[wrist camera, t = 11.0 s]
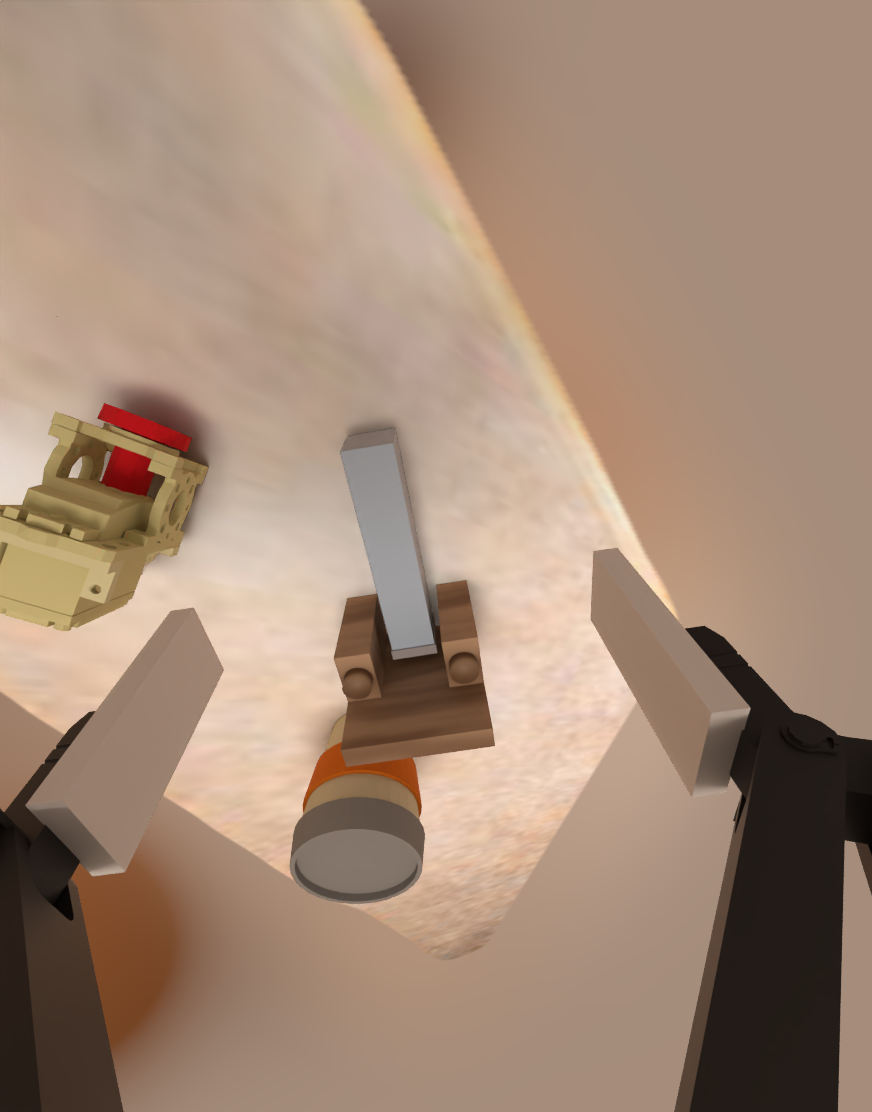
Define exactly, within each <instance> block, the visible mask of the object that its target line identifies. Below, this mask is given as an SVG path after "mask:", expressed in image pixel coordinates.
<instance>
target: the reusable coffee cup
mask: <svg viewBox="0 0 872 1112" xmlns="http://www.w3.org/2000/svg"><path fill="white" fill-rule="evenodd" d="M345 719H346V714H345V715H344V716H343V717H341V718H340V719H339V720H338V721H337V722H336V724H335V726H334V728H333V731H332V734H331V736H330V739H329V742H328V745H327V748H326V751H325V752H324V753H323V754H322V755H321V757H320V758H319V760H318V762H317V765H316V767H315V770H314V773H313V776H312V778H311V781H310V784H309V787H308V789H307V792H306V795H305V798H304V802H303V816H302V818H301V819H300V820H299V821H298V823H297V825H296V826H295V830H294V834H293V842H292V851H291V859H290V871H291V875H292V877H293V879H294V880H295V881H296V883H297V884H298V885H299V886H300V887H302V888H303V889H304V890H306V891H307V892H309V893H311V894H313V895H315V896H317V897H319V898H323V899H326V900H329V901H334V902H339V903H349V904H364V903H372V902H378V901H382V900H387V899H389V898H392V897H395V896H397V895H399V894H401V893H403V892H405V891H407V890H408V889H409V888H410V887H412V886H413V885H414V884H415V883H416V881H417V880H418V879H419V877H420V875H421V872H422V864H423V852H424V839H425V833H424V829H423V826H422V824H421V823H420V819H419V817H420V814H421V808H422V805H421V798H420V791H419V785H418V778H417V771H416V766H415V763H414V761H413V759H412V758H406V759H399V760H392V761H385V762H378V763H371V764H364V765H357V766H350V767H346V764H345V761H344V759H343V756H342V753H341V744H342V738H343V731H344V725H345Z"/></svg>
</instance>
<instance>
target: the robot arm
mask: <svg viewBox="0 0 872 1112" xmlns="http://www.w3.org/2000/svg"><path fill="white" fill-rule="evenodd" d="M591 621H592V622H593V624H594V626H595V628H596V629H597V631H598V633H599V635H600V636H601V638H602V640H603V642H604V644H605V645H606V647H607V649H608V651H609V652H610V654H611V656H612V658H613V659H614V661H615V663H616V665H617V666H618V668H619V670H620V672H621V673H622V675H623V677H624V679H625V681H626V682H627V684H628V686H629V688H630V689H631V691H632V693H633V695H634V696H635V698H636V700H637V702H638V703H639V705H640V707H641V709H642V710H643V712H644V714H645V716H646V717H647V719H648V721H649V723H650V725H651V726H652V728H653V730H654V732H655V733H656V735H657V737H658V739H659V740H660V742H661V744H662V746H663V747H664V749H665V751H666V753H667V754H668V756H669V758H670V760H671V762H672V763H673V765H674V767H675V769H676V770H677V772H678V774H679V776H680V777H681V779H682V781H683V783H684V784H685V786H686V788H687V790H688V791H689V793H690V795H691V797H699V796H706V795H714V794H722V793H726V790H727V787H728V783H729V780H730V777H732V779H733V781H734V782H735V783H736V785H737V786H738V788H739V789H740V791H741V792H742V795H741V798H740V801H739V804H738V807H737V810H736V813H735V817H734V821H735V825H734V830H733V835H732V839H731V844H730V849H729V853H728V858H727V863H726V868H725V872H724V877H723V882H722V887H721V892H720V896H719V901H718V906H717V911H716V915H715V920H714V925H713V930H712V934H711V940H710V944H709V949H708V954H707V958H706V963H705V968H704V973H703V977H702V982H701V987H700V992H699V996H698V1002H697V1006H696V1011H695V1016H694V1020H693V1026H692V1031H691V1035H690V1039H689V1044H688V1049H687V1054H686V1058H685V1063H684V1068H683V1073H682V1078H681V1082H680V1087H679V1092H678V1097H677V1101H676V1106H675V1111H674V1112H838V1083H839V1080H838V1079H839V1042H840V1003H841V1001H840V1000H841V961H842V922H843V883H844V879H843V878H844V842H845V840H847V841H852V842H855V843H856V846H857V849H858V852H859V856H860V859H861V862H862V865H863V869H864V872H865V874H866V878H867V881H868V884H869V888H870V891H871V894H872V740H866V739H858V738H850V737H845V736H840V735H837V734H836V733H835V731H833V730H832V729H831V728H829V727H828V726H826V725H825V724H823V723H822V722H820V721H818V720H816V719H814V718H811V717H809V716H807V715H802V714H798V713H794V712H793V711H792V710H790V708H789V707H788V706H787V705H786V704H785V703H784V702H783V701H782V700H781V699H780V697H779V696H778V695H777V694H776V693H775V692H774V691H773V690H772V689H771V688H770V687H769V686H768V684H767V683H766V682H765V681H764V680H763V679H762V678H761V677H760V676H759V675H758V674H757V673H756V672H755V670H754V669H753V668H752V667H749V666H748V663H747V662H746V661H745V660H744V659H743V658H742V656H741V655H738V654H737V651H736V650H735V649H734V648H733V647H732V646H731V645H730V644H729V643H728V641H727V640H726V639H725V638H724V637H722V636H720V635H719V634H717V633H716V632H714V631H712V630H711V629H709V628H707V627H705V626H700V627H694V628H686V629H684V627H683V626H682V625H681V624H680V623H679V621H678V620H677V619H676V618H675V617H674V615H673V614H672V613H671V612H670V611H669V609H668V608H667V607H666V606H665V605H664V603H663V602H662V601H661V600H660V599H659V597H658V596H657V595H656V594H655V593H654V591H653V590H652V589H651V588H650V587H649V585H648V584H647V583H646V582H645V581H644V579H643V578H642V577H641V576H640V575H639V573H638V572H637V571H636V570H635V569H634V567H633V566H632V565H631V564H630V563H629V561H628V560H627V559H626V558H625V557H624V555H623V554H622V553H621V552H620V551H619V549H618V548H613V549H606V550H599V551H594V552H593V576H592V599H591ZM223 671H224V669H223V667H222V665H221V663H220V661H219V659H218V657H217V655H216V653H215V650H214V648H213V646H212V644H211V642H210V640H209V638H208V636H207V634H206V632H205V630H204V628H203V626H202V624H201V621H200V619H199V617H198V615H197V613H196V611H195V609H194V608H189V609H181V610H174V611H171V612H170V613H169V614H168V616H167V617H166V618H165V620H164V621H163V622H162V624H161V625H160V626H159V628H158V629H157V630H156V632H155V633H154V634H153V636H152V637H151V638H150V640H149V641H148V642H147V644H146V645H145V646H144V648H143V649H142V650H141V652H140V653H139V654H138V656H137V657H136V658H135V660H134V661H133V662H132V664H131V665H130V666H129V668H128V669H127V670H126V672H125V673H124V674H123V676H122V677H121V678H120V680H119V681H118V682H117V684H116V685H115V686H114V688H113V689H112V690H111V692H110V693H109V694H108V696H107V697H106V698H105V700H104V701H103V702H102V704H101V705H100V706H99V708H98V709H97V710H96V711H93V712H89V713H87V714H86V715H85V716H84V717H83V718H81V719H80V720H79V721H78V722H77V723H76V724H74V725H73V726H72V727H71V728H70V729H69V730H68V731H67V733H66V734H65V735H64V736H63V738H62V739H61V740H60V742H59V743H58V744H57V746H56V749H54V750H53V751H52V752H51V753H50V754H49V756H48V757H47V758H46V760H45V764H42V765H41V766H40V767H39V769H38V770H37V771H36V773H35V774H34V775H33V776H32V778H31V779H30V780H29V781H28V783H27V784H26V785H25V787H24V788H23V789H22V790H21V792H20V793H19V794H18V796H17V797H16V798H15V799H14V801H13V802H12V803H11V805H10V806H9V807H8V808H7V810H6V811H5V812H3V811H2V810H1V809H0V1112H123V1108H122V1103H121V1098H120V1093H119V1088H118V1083H117V1078H116V1073H115V1069H114V1064H113V1059H112V1054H111V1049H110V1044H109V1039H108V1034H107V1030H106V1025H105V1020H104V1015H103V1010H102V1005H101V1000H100V996H99V991H98V986H97V981H96V976H95V971H94V966H93V962H92V957H91V952H90V947H89V942H88V937H87V932H86V927H85V923H84V918H83V913H82V908H81V903H80V898H79V893H78V888H77V886H76V885H75V883H74V882H73V881H72V880H71V879H70V878H71V876H72V875H73V873H74V871H75V870H76V868H77V866H78V864H79V863H81V864H82V865H83V867H84V868H85V869H86V870H87V871H88V872H89V873H90V874H91V875H92V876H98V875H106V874H114V873H121V872H125V871H126V869H127V867H128V865H129V863H130V861H131V859H132V857H133V855H134V853H135V851H136V848H137V846H138V845H139V842H140V840H141V838H142V836H143V834H144V832H145V830H146V828H147V826H148V824H149V822H150V820H151V818H152V816H153V814H154V812H155V810H156V807H157V806H158V804H159V802H160V800H161V797H162V796H163V793H164V791H165V789H166V787H167V785H168V783H169V781H170V779H171V777H172V775H173V773H174V771H175V769H176V767H177V765H178V763H179V761H180V759H181V757H182V755H183V753H184V751H185V749H186V747H187V744H188V742H189V740H190V738H191V736H192V734H193V732H194V730H195V728H196V726H197V724H198V722H199V720H200V718H201V716H202V714H203V712H204V710H205V708H206V706H207V704H208V702H209V700H210V698H211V695H212V693H213V691H214V689H215V687H216V685H217V683H218V681H219V679H220V677H221V675H222V673H223Z"/></svg>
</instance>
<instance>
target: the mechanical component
mask: <svg viewBox="0 0 872 1112" xmlns="http://www.w3.org/2000/svg"><path fill="white" fill-rule="evenodd" d="M56 317H57V316H56ZM98 419H100V420H103V421H105V422H108V423H111V424H113V425H116V426H118V427H121V429H120V428H118V427H115V426H112V425H109V424H107V423H104V425H103V428H100V427H97V426H94V425H91V424H88V423H86V422H83V421H80V420H77V419H75V418H72V417H69V416H67V415H64V414H61V413H58V412H55V413H54V416H53V419H52V425H51V427H50V430H49V433H48V434H49V435H52V436H54V437H57V438H59V444H58V445H57V446H56V448H55V449H54V450H53V452H52V454H51V456H50V458H49V460H48V462H47V464H46V466H45V468H44V474H43V481H42V485H39V486H35V487H31V488H28V491H27V493H26V496H25V499H24V501H23V504H22V505H0V613H1V614H5V615H7V616H10V617H14V618H17V619H21V620H24V621H28V622H31V623H35V624H39V625H42V626H46V627H48V626H52V625H54V627H53V628H55V629H57V630H61V631H69V630H71V627H75V628H77V627H79V626H81V625H84V624H86V623H88V622H90V621H92V620H94V619H97V618H99V617H101V616H103V615H105V614H107V613H109V612H112V611H114V610H116V609H118V608H120V607H122V606H124V605H126V604H127V602H128V600H130V599H131V598H132V597H133V595H134V592H135V591H134V590H135V589H136V586H137V583H138V581H139V578H140V575H142V570H143V567H144V565H145V564H148V563H150V562H151V561H153V560H154V558H155V556H156V555H157V554H159V553H161V554H164V555H167V556H170V557H171V556H175V555H177V553H178V550H179V547H180V544H181V541H182V537H183V534H184V532H183V531H180V529H181V526H182V524H183V522H184V520H185V518H186V516H187V513H188V511H189V509H190V506H191V503H192V500H193V496H194V491H195V488H196V485H197V484H202V483H203V480H204V477H205V475H206V473H207V470H208V468H209V467H206V466H204V465H201V464H198V463H196V462H193V461H190V460H188V459H185V458H182V457H179V454H180V451H178V450H176V449H173V448H171V447H174V448H177V449H179V450H182V451H185V452H187V450H188V447H189V444H190V442H191V439H192V438H191V437H189V436H186V435H184V434H182V433H179V432H177V431H175V430H172V429H170V428H167V427H165V426H162V425H160V424H157V423H155V422H152V421H150V420H147V419H145V418H142V417H140V416H137V415H135V414H132V413H130V412H127V411H124V410H122V409H119V408H116V407H114V406H111V405H108V404H106V403H104V405H103V407H102V409H101V411H100V413H99V415H98ZM53 423H55V424H53ZM165 445H169V446H171V447H168V446H165ZM107 451H109V452H112V454H111V457H110V460H109V463H108V465H107V468H106V471H105V473H104V476H103V479H102V481H99V479H100V477H101V474H102V470H103V466H104V459H105V454H106V452H107ZM80 457H82V464H83V465H82V468H81V471H80V474H79V477H78V478H68V476H69V473H70V471H71V468H72V466H73V465H74V464H75V462H76V461H77V460H78V459H79V458H80ZM155 473H156V474H159V475H162V476H165V481H164V483H163V485H162V486H161V488H160V490H159V492H158V494H157V496H156V499H154V498H151V497H149V496H147V492H148V490H149V487H150V484H151V482H152V479H153V477H154V474H155ZM176 498H177V499H176ZM175 499H176V502H175V504H174V507H173V510H172V511H171V508H172V505H173V503H174V501H175ZM170 511H171V513H170ZM169 514H170V515H169Z"/></svg>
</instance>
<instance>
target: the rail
mask: <svg viewBox="0 0 872 1112" xmlns="http://www.w3.org/2000/svg"><path fill="white" fill-rule="evenodd" d="M340 454H341V458H342V462H343V466H344V469H345V473H346V477H347V481H348V484H349V488H350V492H351V496H352V500H353V503H354V507H355V511H356V515H357V519H358V522H359V526H360V530H361V534H362V537H363V541H364V545H365V549H366V553H367V556H368V560H369V564H370V568H371V571H372V575H373V579H374V583H375V587H376V590H377V594H378V598H379V602H380V606H381V609H382V613H383V617H384V621H385V624H386V628H387V632H388V636H389V640H390V643H391V653H392V657H393V660H396V659H402V658H409V657H415V656H422V655H428V654H434V653H437V641H436V627H435V618H434V613H432V608H431V603H430V598H429V593H428V588H427V583H426V578H425V573H424V568H423V563H422V558H421V553H420V548H419V543H418V538H417V533H416V528H415V523H414V518H413V513H412V508H411V503H410V498H409V493H408V488H407V483H406V478H405V474H404V469H403V464H402V459H401V454H400V449H399V444H398V439H397V434H396V429H395V428H390V429H385V430H379V431H373V432H367V433H362V434H356V435H350V436H348V437H347V439H346V441H345V443H344V445H343V447H342V449H341V451H340Z"/></svg>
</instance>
